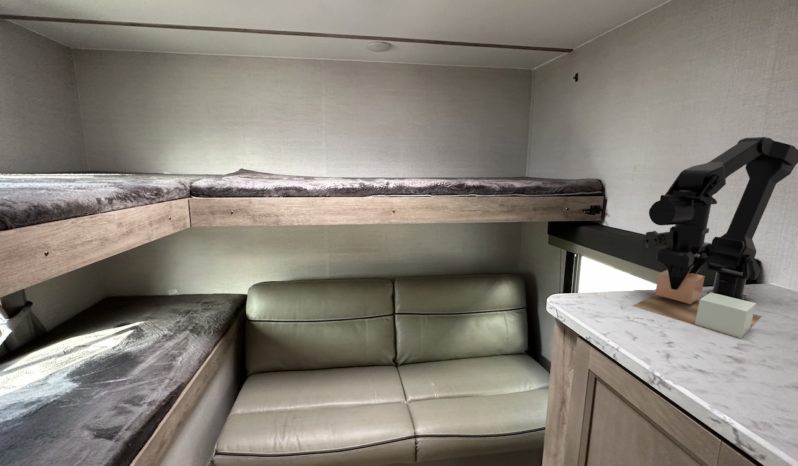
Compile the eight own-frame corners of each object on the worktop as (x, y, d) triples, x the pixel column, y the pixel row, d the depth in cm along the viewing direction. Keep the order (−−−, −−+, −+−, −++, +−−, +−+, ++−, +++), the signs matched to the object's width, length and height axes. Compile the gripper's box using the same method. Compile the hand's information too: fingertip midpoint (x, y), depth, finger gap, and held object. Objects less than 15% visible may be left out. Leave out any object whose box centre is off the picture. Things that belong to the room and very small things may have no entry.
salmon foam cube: (666, 288, 89) (669, 268, 88) (700, 297, 83) (704, 276, 82) (655, 294, 85) (658, 273, 84) (690, 304, 79) (694, 281, 78)
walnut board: (661, 293, 91) (662, 290, 91) (761, 320, 76) (762, 316, 76) (631, 309, 81) (632, 305, 80) (739, 343, 66) (740, 338, 66)
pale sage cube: (705, 316, 75) (710, 292, 74) (750, 328, 70) (755, 303, 69) (694, 324, 72) (699, 299, 70) (740, 338, 66) (747, 311, 65)
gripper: (665, 215, 92) (656, 271, 95) (635, 222, 82) (626, 284, 85) (720, 221, 83) (708, 282, 86) (693, 229, 73) (681, 298, 76)
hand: (679, 286), depth 84 cm, fingers closed on salmon foam cube, 7 cm apart
